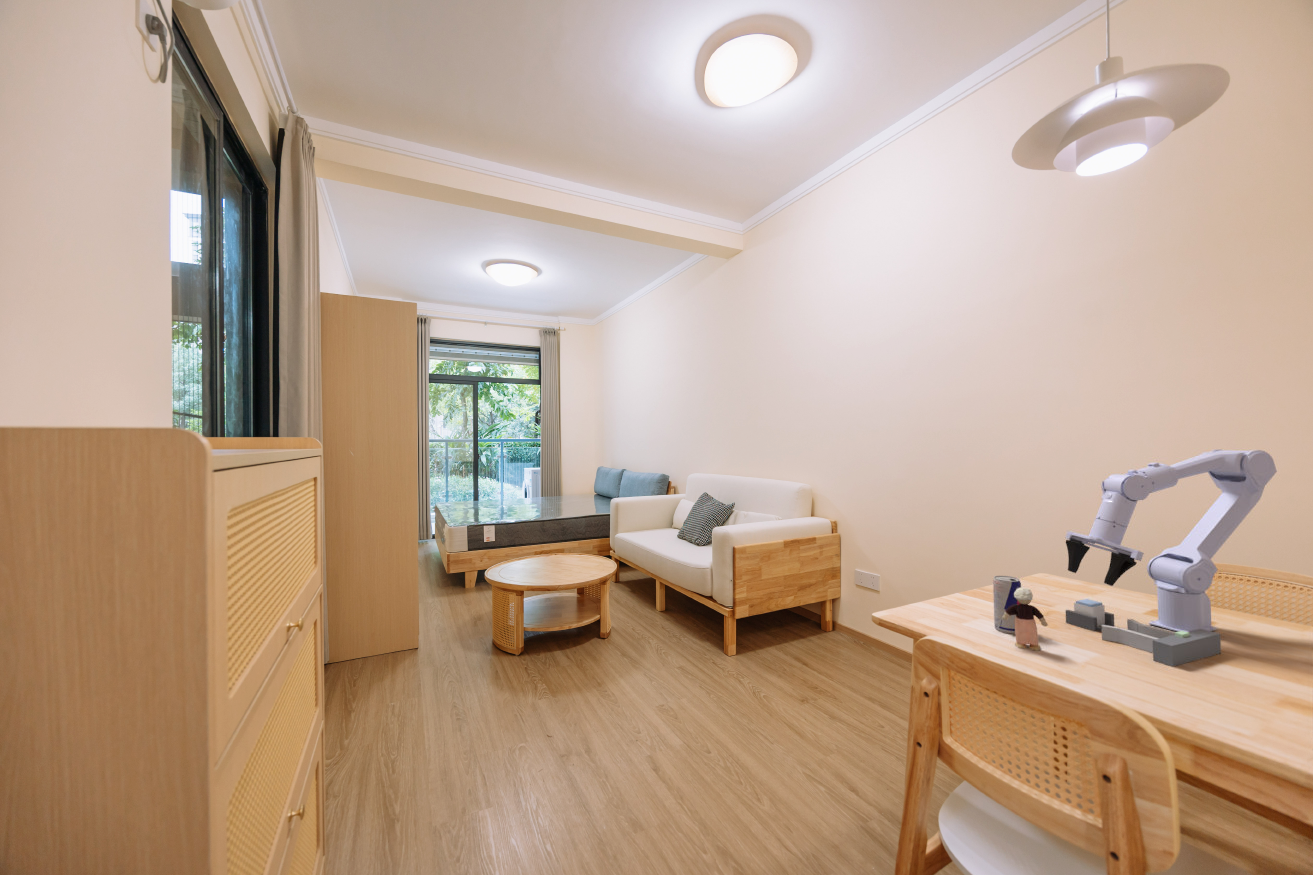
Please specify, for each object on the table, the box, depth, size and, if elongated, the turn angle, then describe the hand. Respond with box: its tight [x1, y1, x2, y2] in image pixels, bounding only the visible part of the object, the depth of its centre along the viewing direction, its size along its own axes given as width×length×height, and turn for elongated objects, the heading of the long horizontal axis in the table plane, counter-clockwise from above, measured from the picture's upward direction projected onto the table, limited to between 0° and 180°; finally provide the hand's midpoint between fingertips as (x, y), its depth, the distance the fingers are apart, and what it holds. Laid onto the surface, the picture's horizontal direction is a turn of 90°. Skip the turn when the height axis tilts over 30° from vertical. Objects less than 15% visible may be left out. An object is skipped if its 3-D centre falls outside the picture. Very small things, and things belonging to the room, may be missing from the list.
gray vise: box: [1065, 609, 1115, 632], centre depth 121 cm, size 13×7×3 cm, turn 109°
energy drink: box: [992, 575, 1022, 635], centre depth 118 cm, size 5×5×12 cm
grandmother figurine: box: [1002, 586, 1049, 652], centre depth 109 cm, size 8×4×13 cm, turn 71°
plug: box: [1073, 598, 1106, 626], centre depth 120 cm, size 4×4×6 cm
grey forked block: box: [1101, 618, 1222, 668], centre depth 107 cm, size 16×14×5 cm
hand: (1089, 578), depth 118 cm, fingers open, 7 cm apart
